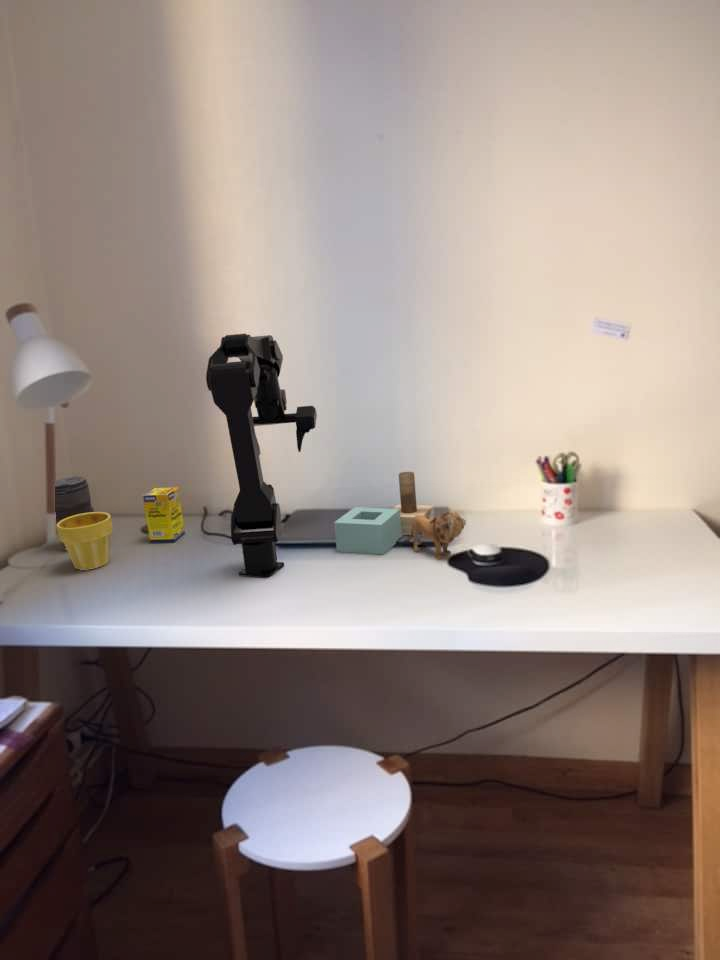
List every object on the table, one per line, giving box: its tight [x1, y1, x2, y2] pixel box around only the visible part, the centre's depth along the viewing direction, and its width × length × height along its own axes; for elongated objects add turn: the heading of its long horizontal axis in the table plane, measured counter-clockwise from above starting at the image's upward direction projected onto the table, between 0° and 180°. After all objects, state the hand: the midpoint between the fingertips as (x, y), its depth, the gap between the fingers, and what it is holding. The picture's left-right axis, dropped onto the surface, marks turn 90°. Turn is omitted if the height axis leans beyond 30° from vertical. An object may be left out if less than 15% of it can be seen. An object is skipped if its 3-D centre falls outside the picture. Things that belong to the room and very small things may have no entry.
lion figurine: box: [402, 509, 467, 560], centre depth 140 cm, size 15×5×9 cm, turn 46°
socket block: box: [333, 506, 403, 556], centre depth 147 cm, size 10×10×6 cm
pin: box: [398, 471, 417, 513], centre depth 153 cm, size 3×3×8 cm
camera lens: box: [54, 476, 95, 548], centre depth 162 cm, size 8×8×15 cm
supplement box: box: [142, 487, 186, 544], centre depth 162 cm, size 6×6×11 cm
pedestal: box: [392, 504, 435, 533], centre depth 154 cm, size 8×8×4 cm
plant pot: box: [56, 511, 114, 570], centre depth 150 cm, size 10×10×10 cm
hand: (279, 452), depth 166 cm, fingers open, 9 cm apart
